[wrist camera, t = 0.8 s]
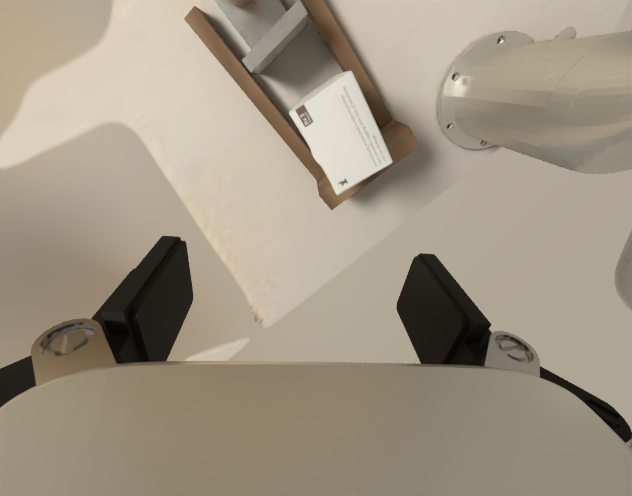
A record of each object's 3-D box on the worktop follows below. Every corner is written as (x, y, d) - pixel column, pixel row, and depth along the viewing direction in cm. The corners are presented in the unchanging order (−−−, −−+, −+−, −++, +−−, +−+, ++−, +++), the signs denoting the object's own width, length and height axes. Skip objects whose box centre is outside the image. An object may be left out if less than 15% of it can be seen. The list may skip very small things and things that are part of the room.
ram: (255, -54, 26) (231, -126, 17) (305, 26, 30) (309, 2, 21) (207, 4, 29) (162, -31, 19) (259, 73, 32) (243, 71, 23)
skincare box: (364, 134, 36) (400, 165, 24) (325, 159, 38) (339, 200, 25) (333, 69, 32) (356, 65, 20) (290, 100, 34) (286, 114, 21)
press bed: (273, -77, 26) (264, -131, 19) (396, 132, 36) (419, 145, 29) (191, 22, 29) (160, 6, 22) (325, 187, 40) (331, 210, 33)
